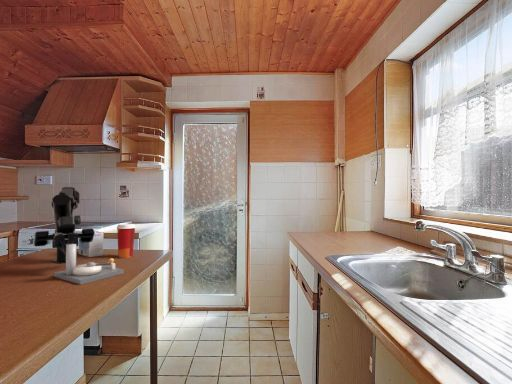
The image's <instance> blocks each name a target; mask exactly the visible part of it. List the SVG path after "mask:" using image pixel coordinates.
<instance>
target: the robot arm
mask: <svg viewBox="0 0 512 384" xmlns="http://www.w3.org/2000/svg"><path fill="white" fill-rule="evenodd" d="M80 195H81V194H80V192H79V191H77V190H76V188H75V187H74V186H63V187H62V188H61V191H59V193H58V194H56V195H54V196H53V197H52V198H51V199H52V200H51V208H52V210H53V213H54V214H53V216H54V217H53V218H54V227H55V229H54V233H52V234H49V233H50V231H49V230H38V231H37V230H36V232H34V239H33V243H34V244H33V245H34V247H45V246H46V245H48V242H49V241H50V242H51V244H52V249H56V259H53V260H52V262H54V263H58V264H64V263H65V264H66V245H67V244H76V247H79V238H81V242H83V243H85V242H92V241H93V237H94V234H95V232H94V231H95V229H94V228H82V229H81V231H79V232H76V225H77V226H78V225H81V221H82V219H81V215H74V211H75V210H76V209H78V206H79V204H80V202H81V196H80Z"/></svg>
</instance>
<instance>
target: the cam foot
mask: <svg viewBox="0 0 512 384" xmlns="http://www.w3.org/2000/svg"><path fill="white" fill-rule="evenodd" d="M103 265H111V263H108V262H102V263H98V264H97V263H96V262H94V261H89V262H86V263H82V264H77V246H76V244H67V245H66V262H65V270H66V274H67V275H71V274H73V275H77V276H85V275H93V274H97V273H100V272H101V271H102V266H103Z"/></svg>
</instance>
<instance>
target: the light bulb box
mask: <svg viewBox="0 0 512 384" xmlns="http://www.w3.org/2000/svg"><path fill="white" fill-rule="evenodd" d="M94 232H95V234H94V237H93V241H92V242H85V243H83V242H81V238H78V254H79V255H82V256H84V257H87V258H93V257H99V256H103V255H104V232H101V231H97V230H94Z"/></svg>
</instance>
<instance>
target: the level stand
mask: <svg viewBox="0 0 512 384" xmlns="http://www.w3.org/2000/svg"><path fill="white" fill-rule="evenodd" d="M107 263H111V265H103V266H102V271H101V272H100V273H97V274H93V275H85V276H77V275H73V274H71V275H67V274H66V269H65V270H59V271H54V272H53V277H55V278H58V279H61V280H64V281H67V282H70V283H73V284H77V285H83V284H88V283H91V282H96V281H100V280H103V279H108V278H111V277H115V276H118V275H122V274H124V272H125V271H124V268H120V267H119V268H118V267H116V263H115V259H114V258H112V257H111V258H109V259H108V262H107ZM97 264H99V263H97Z"/></svg>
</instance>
